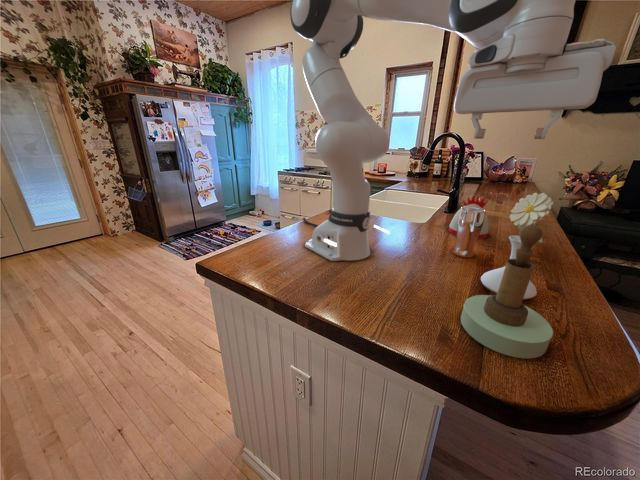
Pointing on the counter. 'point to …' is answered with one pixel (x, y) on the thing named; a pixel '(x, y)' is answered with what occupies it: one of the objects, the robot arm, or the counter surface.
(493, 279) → the flower in vase
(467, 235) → the beer glass
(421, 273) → the counter surface
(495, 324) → the disc
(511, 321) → the mortar and pestle
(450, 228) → the kitchen timer
